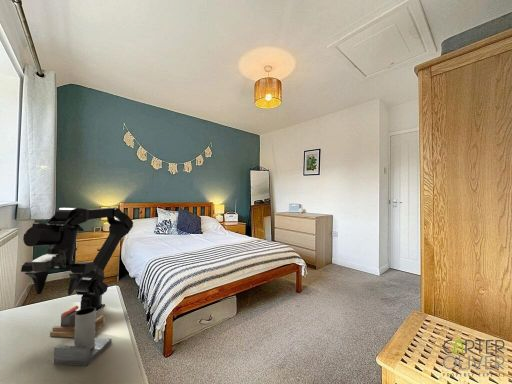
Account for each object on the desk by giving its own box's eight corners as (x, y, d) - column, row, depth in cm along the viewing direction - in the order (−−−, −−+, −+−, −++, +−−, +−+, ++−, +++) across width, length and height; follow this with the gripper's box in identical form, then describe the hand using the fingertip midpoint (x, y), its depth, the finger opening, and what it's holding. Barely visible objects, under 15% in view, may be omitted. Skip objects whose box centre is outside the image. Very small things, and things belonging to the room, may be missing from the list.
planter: (88, 353, 59) (89, 314, 59) (69, 354, 58) (71, 315, 59) (98, 342, 63) (99, 306, 64) (81, 343, 63) (82, 307, 63)
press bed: (82, 341, 66) (83, 327, 66) (111, 342, 65) (112, 328, 65) (53, 363, 57) (54, 347, 57) (86, 365, 56) (87, 349, 56)
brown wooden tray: (70, 323, 75) (70, 313, 75) (103, 324, 74) (104, 315, 74) (50, 336, 68) (50, 325, 68) (86, 337, 67) (87, 327, 67)
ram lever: (72, 320, 74) (72, 305, 74) (80, 321, 73) (81, 305, 74) (57, 329, 69) (58, 313, 69) (66, 330, 68) (67, 313, 69)
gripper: (9, 245, 64) (-5, 302, 61) (76, 247, 66) (66, 302, 63) (41, 243, 75) (31, 291, 72) (99, 245, 77) (91, 292, 74)
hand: (54, 294), depth 70 cm, fingers open, 9 cm apart
